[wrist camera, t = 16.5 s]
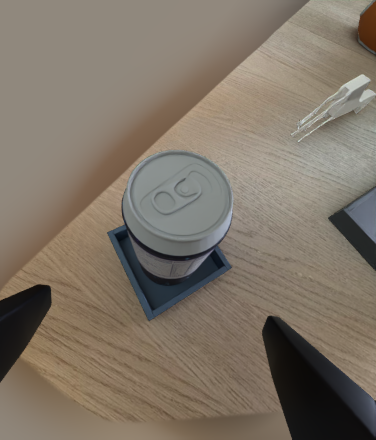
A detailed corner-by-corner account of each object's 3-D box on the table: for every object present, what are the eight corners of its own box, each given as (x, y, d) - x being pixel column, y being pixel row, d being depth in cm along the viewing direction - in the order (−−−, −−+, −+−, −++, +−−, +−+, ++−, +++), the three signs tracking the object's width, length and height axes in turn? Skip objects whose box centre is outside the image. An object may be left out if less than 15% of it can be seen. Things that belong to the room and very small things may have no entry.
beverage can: (207, 264, 20) (266, 207, 9) (160, 299, 18) (164, 279, 7) (175, 221, 21) (193, 129, 11) (128, 249, 19) (92, 171, 9)
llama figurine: (285, 165, 36) (367, 107, 36) (309, 123, 26) (428, 38, 25) (278, 158, 37) (359, 100, 36) (299, 114, 26) (415, 31, 26)
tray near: (149, 320, 17) (148, 321, 15) (112, 240, 20) (106, 232, 18) (224, 272, 20) (232, 267, 18) (183, 207, 23) (185, 197, 21)
